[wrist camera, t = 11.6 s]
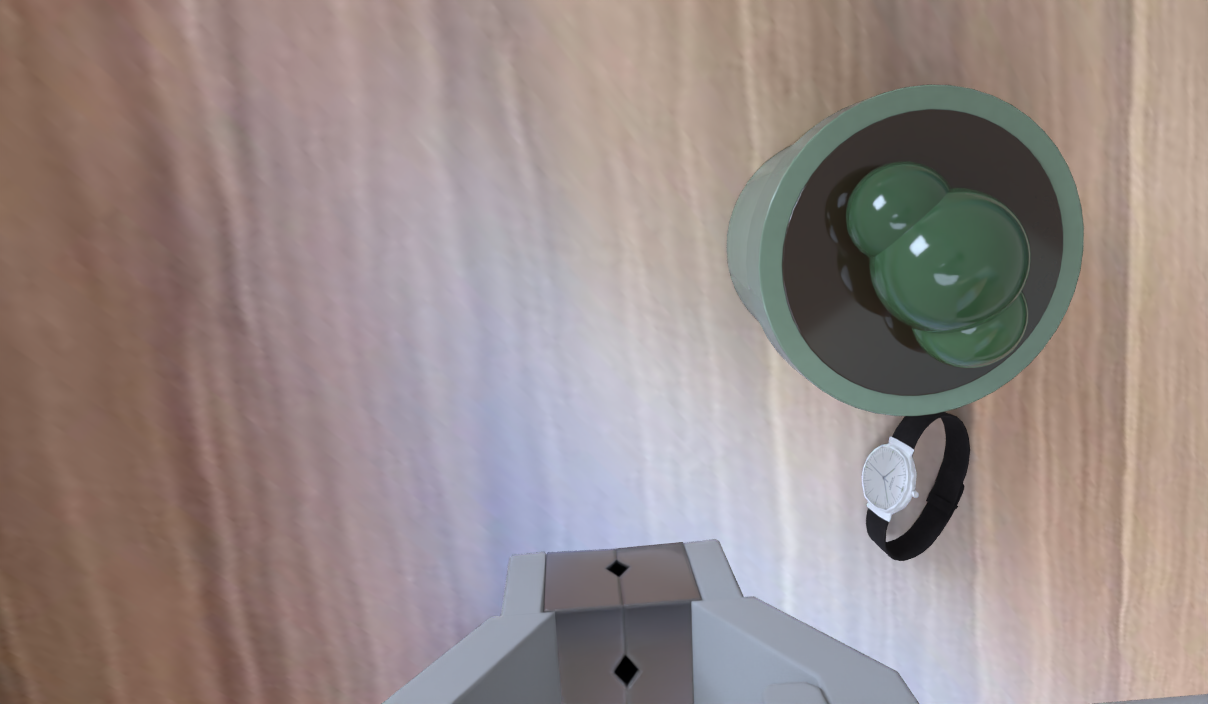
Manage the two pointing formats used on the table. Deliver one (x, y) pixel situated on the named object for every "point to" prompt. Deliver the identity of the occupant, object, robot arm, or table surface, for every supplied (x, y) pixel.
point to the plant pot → (910, 249)
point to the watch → (913, 484)
